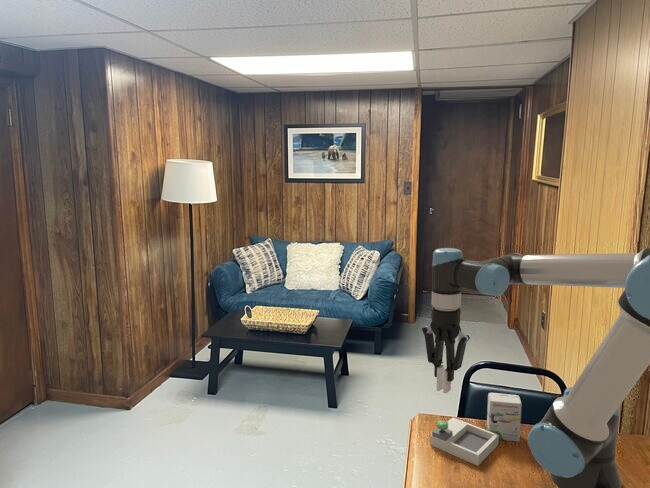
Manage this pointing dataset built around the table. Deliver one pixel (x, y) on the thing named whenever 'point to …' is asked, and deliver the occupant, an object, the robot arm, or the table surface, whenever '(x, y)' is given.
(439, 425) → the button
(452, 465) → the table surface
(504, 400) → the ink box
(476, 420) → the table surface
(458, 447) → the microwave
